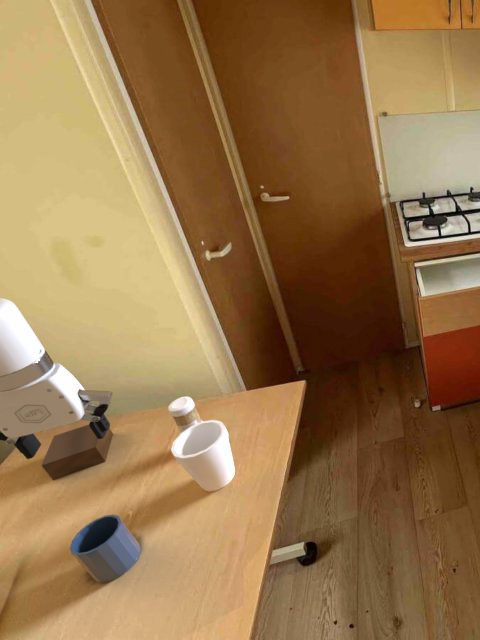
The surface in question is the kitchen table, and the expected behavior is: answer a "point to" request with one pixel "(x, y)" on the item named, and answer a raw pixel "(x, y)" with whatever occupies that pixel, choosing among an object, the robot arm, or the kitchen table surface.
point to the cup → (105, 548)
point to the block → (75, 451)
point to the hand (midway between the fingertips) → (70, 442)
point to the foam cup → (206, 454)
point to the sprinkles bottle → (184, 413)
